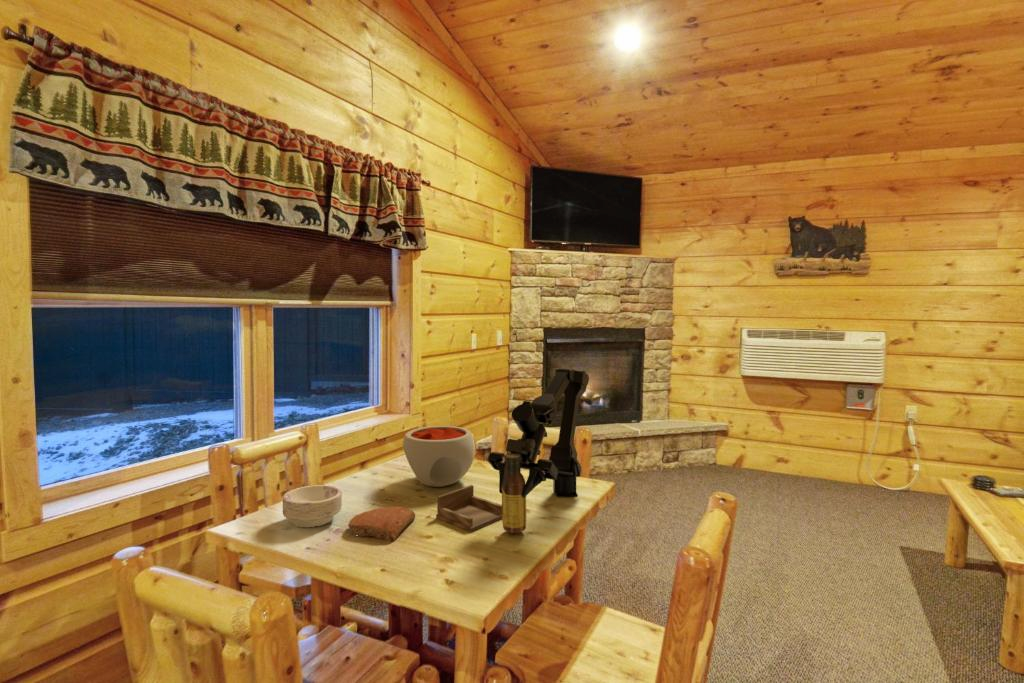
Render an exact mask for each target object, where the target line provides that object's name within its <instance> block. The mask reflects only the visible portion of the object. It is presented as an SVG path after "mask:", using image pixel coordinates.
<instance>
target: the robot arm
mask: <svg viewBox="0 0 1024 683" xmlns="http://www.w3.org/2000/svg"><path fill="white" fill-rule="evenodd" d="M589 380H590V378H589V374H588V373H586V371H585V370H580V369H578V370H577V369H572V368H568V367H559V368H556V369H555V372H554V376H553V377H552V379H551V381H550V382H549V384H548V386H547V387H546V389H544V391H543V393H542V394H541V395H539V396H537V397H534V399H533V400H532V401H530V400H529V401H528V400H523V401H522V403H521V404H518V405H517V406H516V407H514V409H512V410H511V418H512V420H513V421H514V423H515V424H516V426H517V428H518V429H519V431H520V432H521V433H522V435H521V437H520V438H517V439H515V438H514V439H512V438H507V442H506V447H505V452H509V453H518V454H520V455H521V461H520V469H523V470H528V471H529V472H528V477H527V479H526V481H525V487H524V489H523V492H522V497H523V498H525V497H526V498H527V496H528V495H529V494H530V493H531V492H532V491H533V490H534V489H535V488H536V487H537V486H538V485H540V484H541V483H543V482H546V481H547V480H552V481H553V482H552V483H553V484H552V487H553V488H552V490H553V492H554V493H556V494H555V496H556V495H557V496H565V497H578V496H579V494H578V492H577V478H580V477H581V474H582V466H581V464H580V462H579V460H578V451H577V450H576V446H575V445H574V442H575V435H576V426H577V421H578V412H579V405H580V399H582V398H581V397H583V395H584V394H585V393H586V391H587V386H588V385H589ZM563 394H564V399H563V407H562V412H561V413H562V414H561V420H560V426H559V434H558V441H557V442H556V443H555V445H552V446H551V448H550V455H549V457H548V459H544V458H539V459H537V457H538V456H540V455H541V453H542V452H541V450H540V449H541V446H542V444H543V440H544V438H548V432H547V429H546V427H545V426H544V424H548V425H551V424H552V423H554V421H555V420H556V417H557V414H558V409H557V405H558V403H559V401H560V399H561V398H562V396H563ZM505 455H506V454H505V453H503V452H498V451H491V452H489V454H488V457H487V458H486V460H487V461H488V463H489V464H490V466H491V468H493V470H495V471H498V473H499V474H498V475H499V477H498V478H499V480H498V481H499V482H498V483H499V487H498V492H499V494H502V482H503V479H504V476H505V473H506V461H505ZM536 460H537V461H536ZM557 496H556V497H557Z"/></svg>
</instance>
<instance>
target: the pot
mask: <svg viewBox="0 0 1024 683" xmlns="http://www.w3.org/2000/svg"><path fill="white" fill-rule="evenodd" d="M402 448H403V452H404V455H405V457H406V460H407V463H408V464H409V467H410V469H411V470H412V472H413V473H414V475H415V477H416V479H418V482H419V483H421V485H422V484H423V485H425V486H428V487H432V488H434V487H435V488H441V487H447V486H450V485H452V484H455V483H456V482H458V481H459V480H462V478H463V477H464V476H465V475H466V474H467V473H468V471H469V470H470V468H471V467H472V464H473V462H474V459H475V454H476V445H475V440H474V436H473V433H472V432H471V431H470V430H469V429H468V428H464V427H460V426H452V425H431V426H425V427H424V426H423V427H419V428H415V429H412V430H409V431H408V432H406V433H405V435H404V437H403V440H402Z"/></svg>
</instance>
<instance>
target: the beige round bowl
mask: <svg viewBox="0 0 1024 683" xmlns="http://www.w3.org/2000/svg"><path fill="white" fill-rule="evenodd" d="M342 492H343V491H342V490H341V489H340V488H339V487H337V486H334V485H325V484H323V485H322V484H321V485H320V484H317V485H315V484H314V485H307V486H300V487H298V488H293V489H291V490H288V491H287V492H286V493H284V494H283V496H282V515H283V517H285V519H288V520H290V522H292V524H293V525H294V526H296V527H298V526H299V527H298V528H303V527H312V528H316V527H315V526H318V527H321V526H320V525H322V526H324V525H323V524H325V525H327V524H328V523H330V522H331V521H332V520H333V519H334V517H335V516H336V515H337V514H339V513H340V512H341V510H342V506H343V502H342V500H343V497H342V496H343V493H342ZM326 523H327V524H326Z"/></svg>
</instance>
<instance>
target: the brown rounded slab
mask: <svg viewBox="0 0 1024 683" xmlns="http://www.w3.org/2000/svg"><path fill="white" fill-rule="evenodd" d="M415 518H416V513H415V512H414V511H413V510H411V509H410V508H408V507H407V508H406V507H402V506H392V507H391V506H390V507H389V506H388V507H379V508H374V509H370V510H368V511H363V512H360V513H359V514H355V515H354V516H353V517H352V518H351V519H350V520H349V523H348V525H347V526H348V528H349V529H350V530H351V531H352V534H353V535H358V537H374V538H376V539H378V538H379V539H381V540H384V539H386V540H385V541H387V540H389V541H388V542H394V541H395V540H396V539H397V537H399V535H400V534H401V532H403V530H404V529H405V528H406V527H407V526H408V524H410V523H411V522H414V520H415Z"/></svg>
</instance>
